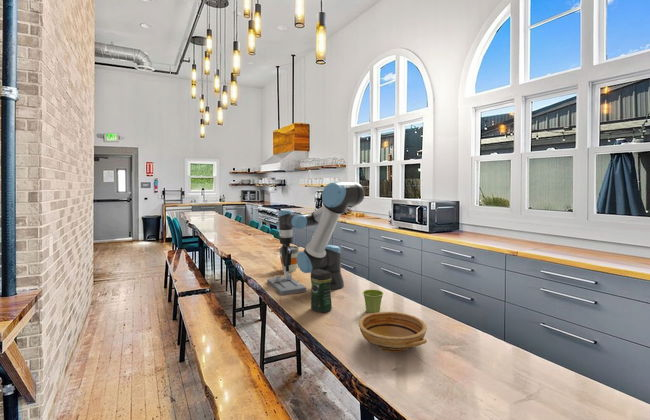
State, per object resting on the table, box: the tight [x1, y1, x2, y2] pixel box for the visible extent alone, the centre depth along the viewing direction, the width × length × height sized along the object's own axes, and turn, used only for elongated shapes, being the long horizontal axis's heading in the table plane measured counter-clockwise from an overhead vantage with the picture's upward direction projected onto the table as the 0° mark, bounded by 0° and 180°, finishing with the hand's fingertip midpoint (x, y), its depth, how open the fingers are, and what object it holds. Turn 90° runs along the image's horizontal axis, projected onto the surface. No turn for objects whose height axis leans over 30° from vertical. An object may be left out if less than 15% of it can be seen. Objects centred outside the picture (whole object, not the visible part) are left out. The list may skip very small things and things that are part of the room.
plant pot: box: [362, 289, 384, 314], centre depth 163 cm, size 9×9×9 cm
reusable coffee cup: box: [279, 245, 300, 273], centre depth 238 cm, size 13×13×15 cm
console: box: [266, 276, 307, 296], centre depth 202 cm, size 26×14×2 cm, turn 25°
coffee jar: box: [310, 269, 332, 313], centre depth 166 cm, size 10×8×19 cm
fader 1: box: [273, 274, 282, 282], centre depth 204 cm, size 2×3×3 cm, turn 116°
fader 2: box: [286, 272, 293, 280], centre depth 208 cm, size 2×3×3 cm, turn 115°
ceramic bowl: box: [357, 311, 428, 353], centre depth 130 cm, size 30×24×8 cm
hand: (286, 276), depth 211 cm, fingers closed
